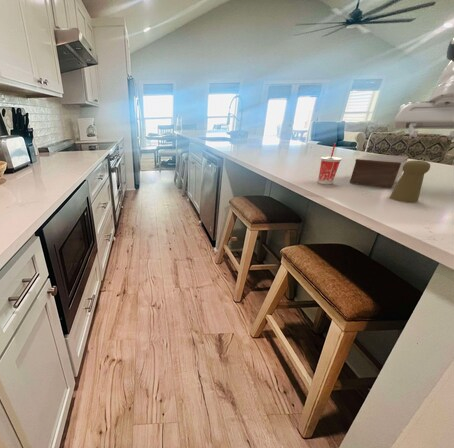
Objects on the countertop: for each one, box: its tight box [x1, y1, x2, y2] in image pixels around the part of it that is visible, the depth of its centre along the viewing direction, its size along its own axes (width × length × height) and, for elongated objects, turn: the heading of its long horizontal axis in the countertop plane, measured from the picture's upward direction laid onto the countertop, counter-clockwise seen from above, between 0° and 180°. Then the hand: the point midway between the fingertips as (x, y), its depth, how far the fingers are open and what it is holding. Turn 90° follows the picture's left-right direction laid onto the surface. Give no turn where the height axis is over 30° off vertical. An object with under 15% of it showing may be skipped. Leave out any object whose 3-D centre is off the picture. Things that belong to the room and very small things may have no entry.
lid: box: [355, 153, 409, 165], centre depth 84 cm, size 14×12×1 cm
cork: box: [389, 160, 431, 204], centre depth 68 cm, size 6×6×11 cm
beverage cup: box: [317, 142, 343, 185], centre depth 87 cm, size 6×6×14 cm
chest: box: [349, 159, 408, 190], centre depth 86 cm, size 14×12×8 cm
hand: (431, 137), depth 71 cm, fingers open, 7 cm apart
